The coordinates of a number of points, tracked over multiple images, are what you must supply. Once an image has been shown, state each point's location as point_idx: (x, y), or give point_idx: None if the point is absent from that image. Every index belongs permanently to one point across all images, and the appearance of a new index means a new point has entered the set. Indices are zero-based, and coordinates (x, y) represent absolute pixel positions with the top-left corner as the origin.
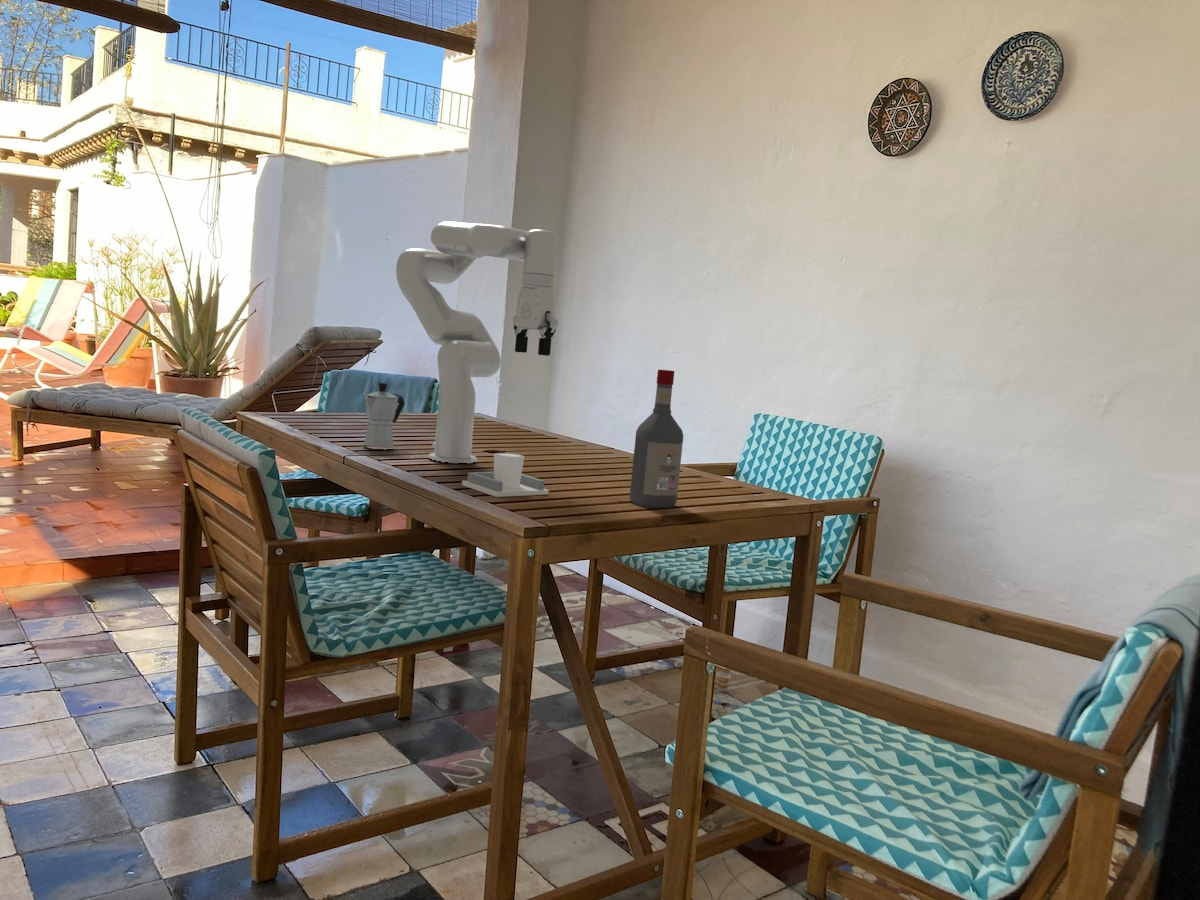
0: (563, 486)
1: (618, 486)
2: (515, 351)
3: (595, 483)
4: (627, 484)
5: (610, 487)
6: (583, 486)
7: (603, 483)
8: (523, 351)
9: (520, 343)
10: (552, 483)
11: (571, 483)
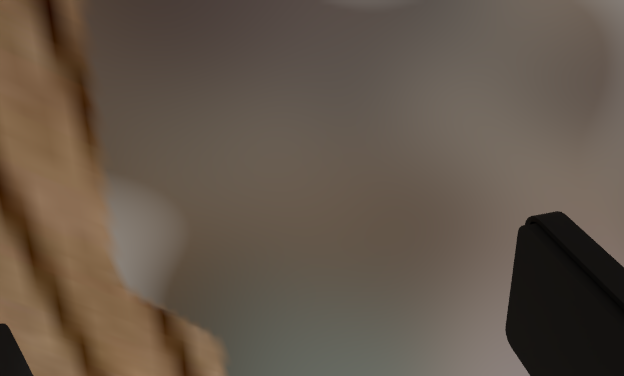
0: (15, 68)
1: (49, 257)
2: (551, 213)
3: (97, 209)
4: (92, 296)
5: (24, 225)
6: (28, 143)
7: (101, 234)
8: (510, 305)
9: (579, 335)
10: (77, 55)
11: (86, 128)
